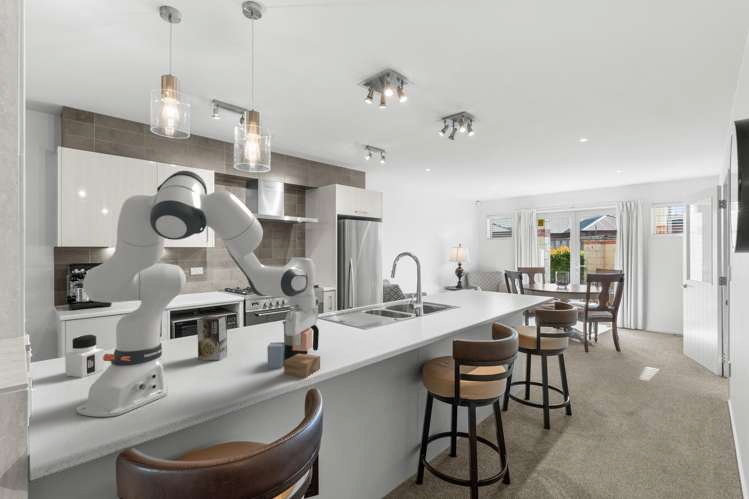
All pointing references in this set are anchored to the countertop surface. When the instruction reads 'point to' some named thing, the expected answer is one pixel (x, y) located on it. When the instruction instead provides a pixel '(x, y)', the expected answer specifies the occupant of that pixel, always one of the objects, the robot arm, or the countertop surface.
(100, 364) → the container
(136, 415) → the countertop surface
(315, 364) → the walnut block
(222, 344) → the coffee box
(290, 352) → the milk frother
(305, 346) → the terracotta block
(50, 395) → the countertop surface
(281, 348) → the slate block
